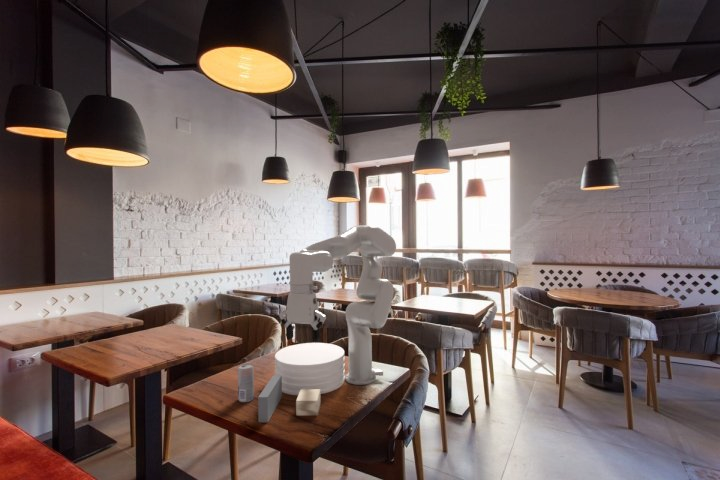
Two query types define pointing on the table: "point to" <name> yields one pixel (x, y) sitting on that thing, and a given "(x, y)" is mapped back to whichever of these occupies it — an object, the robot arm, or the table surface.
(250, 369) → the energy drink
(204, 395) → the table surface
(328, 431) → the table surface
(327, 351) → the plate stack
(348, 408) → the table surface
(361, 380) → the robot arm
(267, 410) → the gray board
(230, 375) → the table surface
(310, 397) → the cream block
